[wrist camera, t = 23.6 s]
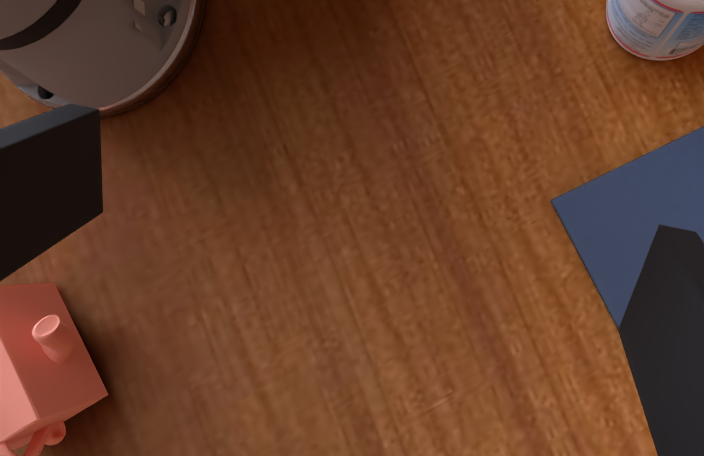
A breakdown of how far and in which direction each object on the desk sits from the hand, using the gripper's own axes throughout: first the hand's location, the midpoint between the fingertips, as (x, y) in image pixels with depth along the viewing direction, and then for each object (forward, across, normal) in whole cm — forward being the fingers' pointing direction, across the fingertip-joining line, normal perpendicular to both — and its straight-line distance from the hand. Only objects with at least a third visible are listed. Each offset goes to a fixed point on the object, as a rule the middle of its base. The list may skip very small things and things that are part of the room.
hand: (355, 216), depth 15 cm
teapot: (+17, -22, -23) cm, 36 cm away
